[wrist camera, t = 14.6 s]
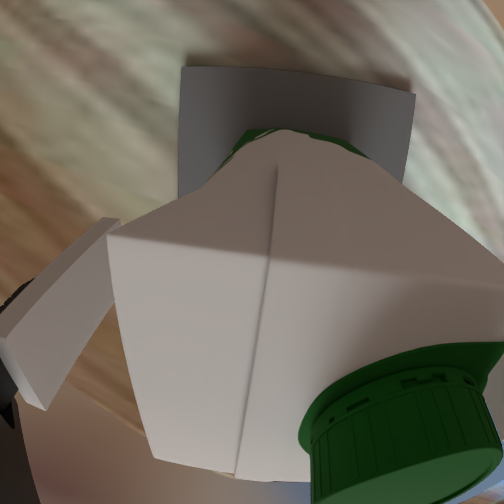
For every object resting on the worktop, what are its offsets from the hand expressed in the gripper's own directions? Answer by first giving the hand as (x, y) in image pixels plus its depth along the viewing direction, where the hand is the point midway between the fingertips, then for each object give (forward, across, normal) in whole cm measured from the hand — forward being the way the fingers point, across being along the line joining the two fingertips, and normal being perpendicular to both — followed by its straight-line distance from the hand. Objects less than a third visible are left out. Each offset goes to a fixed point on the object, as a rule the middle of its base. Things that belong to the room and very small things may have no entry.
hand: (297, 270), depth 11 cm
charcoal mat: (+13, 0, -1) cm, 13 cm away
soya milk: (+12, 0, 0) cm, 12 cm away
